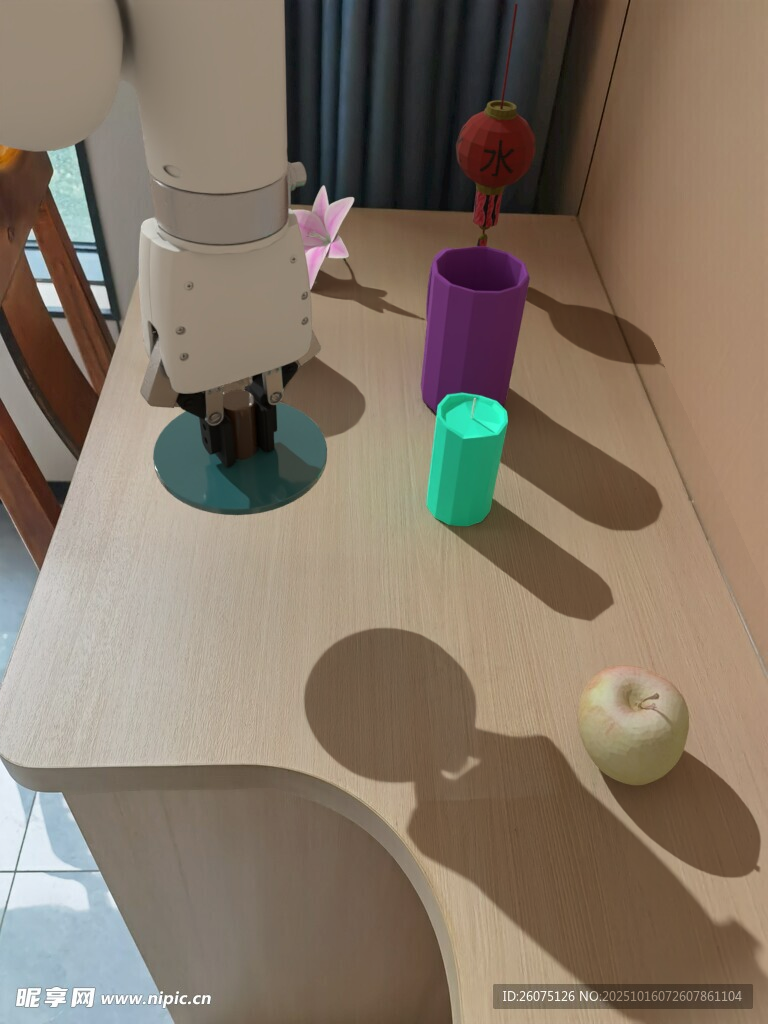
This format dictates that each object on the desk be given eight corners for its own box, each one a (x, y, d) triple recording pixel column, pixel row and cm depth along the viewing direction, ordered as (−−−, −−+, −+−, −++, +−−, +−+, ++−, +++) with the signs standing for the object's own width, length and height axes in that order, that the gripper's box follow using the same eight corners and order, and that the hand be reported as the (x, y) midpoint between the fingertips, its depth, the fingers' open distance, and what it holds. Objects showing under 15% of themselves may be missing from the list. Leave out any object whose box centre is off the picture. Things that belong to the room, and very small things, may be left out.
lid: (144, 522, 54) (131, 460, 50) (165, 408, 62) (155, 347, 59) (329, 520, 55) (330, 459, 51) (324, 409, 64) (325, 349, 60)
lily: (287, 249, 108) (257, 199, 100) (368, 216, 106) (344, 162, 98) (302, 318, 103) (271, 271, 95) (388, 285, 101) (364, 234, 93)
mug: (436, 431, 81) (452, 298, 70) (389, 346, 91) (397, 220, 81) (519, 417, 83) (547, 286, 73) (464, 336, 93) (481, 211, 83)
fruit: (694, 768, 56) (735, 708, 50) (615, 818, 53) (649, 760, 48) (621, 686, 61) (651, 622, 55) (545, 727, 58) (568, 665, 52)
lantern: (515, 287, 102) (565, 19, 81) (441, 281, 102) (471, 12, 81) (513, 252, 108) (557, -5, 87) (443, 246, 109) (471, -11, 87)
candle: (412, 499, 74) (422, 394, 65) (458, 472, 77) (473, 368, 68) (458, 536, 71) (476, 431, 62) (504, 506, 74) (526, 402, 65)
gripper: (310, 151, 50) (310, 388, 63) (54, 200, 43) (113, 455, 56) (377, 197, 46) (362, 441, 59) (105, 260, 39) (156, 521, 52)
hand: (241, 446), depth 58 cm, fingers closed on lid, 2 cm apart
